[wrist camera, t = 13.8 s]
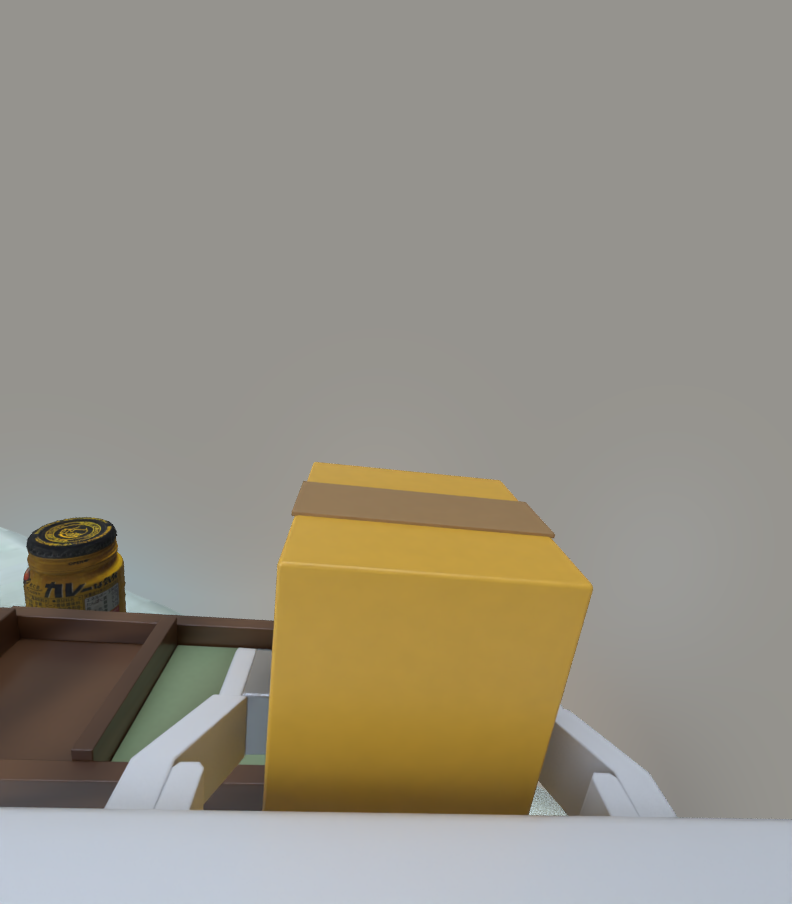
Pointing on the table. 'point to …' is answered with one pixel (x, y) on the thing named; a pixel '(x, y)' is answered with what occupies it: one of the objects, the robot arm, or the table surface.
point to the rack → (109, 699)
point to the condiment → (75, 567)
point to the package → (416, 646)
